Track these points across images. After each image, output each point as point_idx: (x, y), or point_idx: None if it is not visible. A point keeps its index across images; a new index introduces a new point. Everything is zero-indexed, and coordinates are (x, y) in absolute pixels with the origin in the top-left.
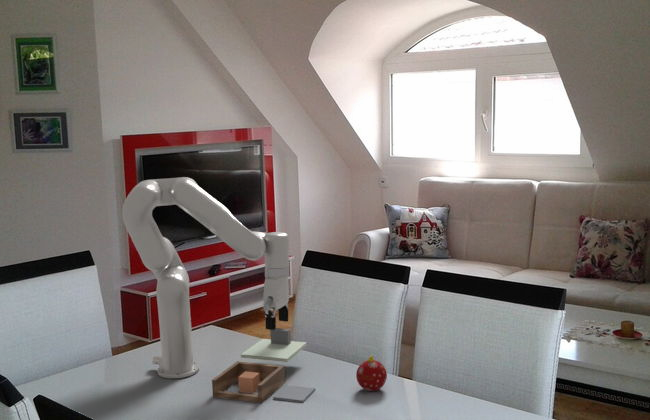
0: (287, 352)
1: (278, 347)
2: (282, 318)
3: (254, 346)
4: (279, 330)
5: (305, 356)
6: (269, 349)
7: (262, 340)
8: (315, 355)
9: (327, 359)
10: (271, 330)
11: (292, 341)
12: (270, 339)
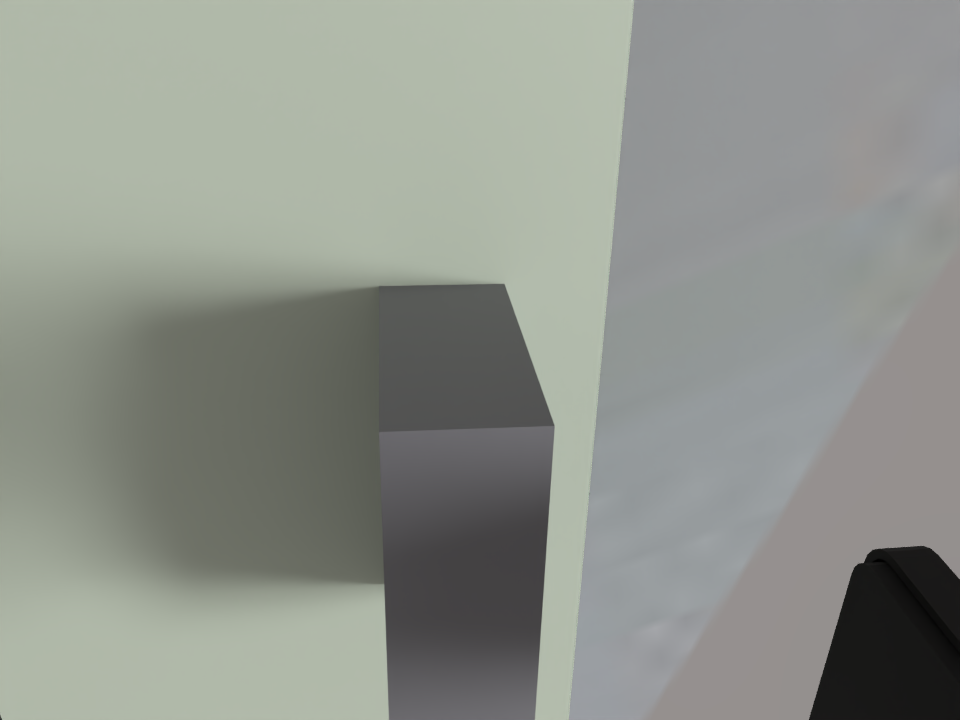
0: (51, 703)
1: (214, 499)
2: (867, 703)
3: (67, 25)
4: (386, 644)
5: (684, 479)
6: (44, 406)
7: (511, 25)
8: (729, 559)
9: (627, 693)
10: (380, 451)
11: (571, 571)
12: (607, 174)
